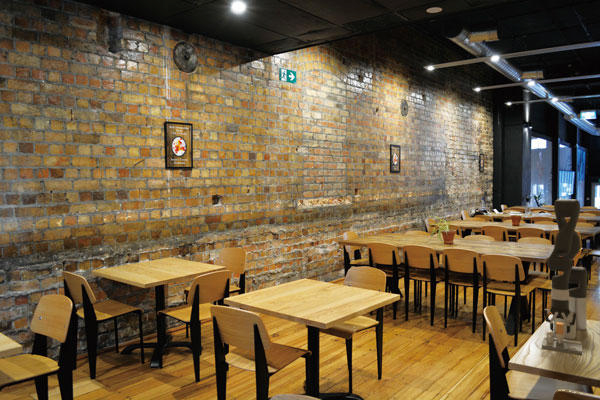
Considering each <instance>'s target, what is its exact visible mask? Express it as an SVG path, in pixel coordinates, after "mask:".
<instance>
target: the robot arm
mask: <svg viewBox="0 0 600 400" xmlns="http://www.w3.org/2000/svg"><path fill="white" fill-rule="evenodd" d="M553 207H554V208H553V209H554V215H555V219H556V223H557V228H558V232H557V235H556V236H555V240H554V246H553V250H552V251H551V254H550V255H549V257H548V260H547V263H546V264H547V268H548V270H550V271H552V272H553V271H554V272H561V273H562V272H563V274H561V275H560V274H558V275H553V276H552V277H551V290H550V308H544V310H543V313H544V319H545V322H546V323H549V330H552V331H554V320H555V318H560V319H564V320H565V322H566V324H567V333H569V332H570V326H571V325H574V324H575V319H576V330H579V331H580V330H581V331H582V330H586V329H587V315H588V314H587V312H588V310H587V308H588V307H587V305H588V303H587V300H588V299H587V296H588V295H587V293H588V292H587V289H588V287H587V286H588V270H587V268H586V267H583V266H574V262H573V260H574V258H575V257H577V255H578V253H579V252H580V250H581V248H582V247H581V245H582V244H581V239H580V236H579V233H578V232H577V231H576V227H577V224H578V221H579V217H580V214H581V204H580V201H579V200H578V199H573V198H572V199H571V198H570V199H569V198H568V199H565V198H563V199H562V198H561V199H559V198H558V199H556V200H555V201H554V205H553ZM566 218H569V219H568V221H567V219H566ZM569 284H575V285H578V287H573V288H570V289H569ZM550 313H551V314H552V317H551V319H550V317H549V314H550ZM569 314H571V316H572V317H573V319H572V322H569V320H568V317H567V316H568V315H569Z"/></svg>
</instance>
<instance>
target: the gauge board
mask: <svg viewBox="0 0 600 400" xmlns="http://www.w3.org/2000/svg"><path fill="white" fill-rule="evenodd" d="M541 349H545V350H550V351H557V352H563V353H569V354H574V355H581V356H583V343H581V341H576V340H570V339H564V343H563V344H560V345H558V343H556V337H555V331H554V330H553V331H552V330H550V329H547V330H546V336H545V337H543V339H542V343H541Z"/></svg>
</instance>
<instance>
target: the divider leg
mask: <svg viewBox="0 0 600 400" xmlns="http://www.w3.org/2000/svg"><path fill="white" fill-rule="evenodd" d="M555 338H556V343H558V345H560V344H563V343H564V340H565V338H564V323H560V322H556V332H555Z"/></svg>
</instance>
